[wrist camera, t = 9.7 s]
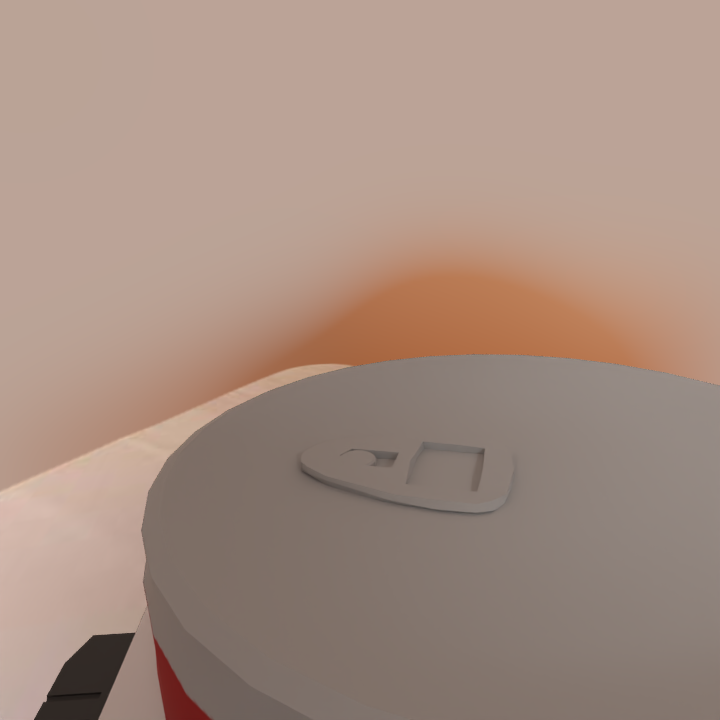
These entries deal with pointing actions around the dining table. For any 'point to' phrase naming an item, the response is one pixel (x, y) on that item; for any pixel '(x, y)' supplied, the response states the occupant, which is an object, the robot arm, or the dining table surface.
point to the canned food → (444, 547)
